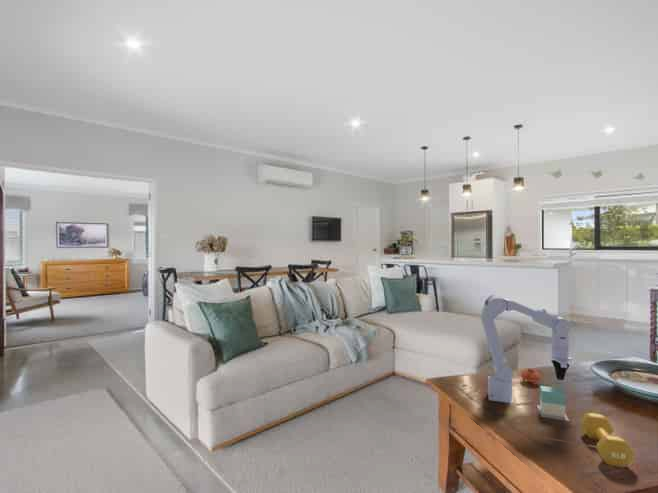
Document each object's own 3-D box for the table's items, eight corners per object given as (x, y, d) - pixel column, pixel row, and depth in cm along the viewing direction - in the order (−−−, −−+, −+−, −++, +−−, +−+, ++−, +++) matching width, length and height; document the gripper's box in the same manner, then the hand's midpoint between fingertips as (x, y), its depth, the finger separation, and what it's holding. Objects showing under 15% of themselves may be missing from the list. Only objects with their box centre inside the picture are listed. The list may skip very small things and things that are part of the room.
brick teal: (542, 402, 134) (542, 390, 134) (540, 396, 139) (540, 385, 138) (565, 405, 131) (565, 393, 131) (562, 399, 136) (562, 388, 136)
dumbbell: (636, 472, 101) (636, 444, 101) (599, 465, 104) (599, 438, 104) (610, 437, 119) (610, 414, 118) (578, 432, 122) (578, 409, 122)
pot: (525, 377, 170) (528, 364, 168) (541, 386, 163) (545, 373, 162) (516, 380, 166) (519, 367, 164) (532, 389, 159) (535, 376, 158)
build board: (541, 417, 132) (541, 416, 132) (536, 405, 141) (536, 404, 141) (569, 422, 128) (569, 420, 128) (562, 409, 138) (562, 408, 138)
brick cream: (542, 413, 134) (542, 402, 134) (540, 407, 139) (540, 396, 139) (565, 417, 131) (565, 405, 131) (562, 411, 136) (562, 400, 136)
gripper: (576, 353, 133) (576, 387, 134) (567, 342, 147) (567, 374, 147) (554, 350, 136) (555, 385, 136) (548, 340, 150) (548, 371, 150)
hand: (560, 379), depth 142 cm, fingers closed
